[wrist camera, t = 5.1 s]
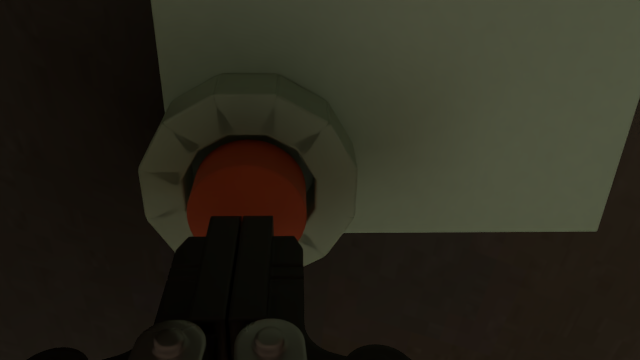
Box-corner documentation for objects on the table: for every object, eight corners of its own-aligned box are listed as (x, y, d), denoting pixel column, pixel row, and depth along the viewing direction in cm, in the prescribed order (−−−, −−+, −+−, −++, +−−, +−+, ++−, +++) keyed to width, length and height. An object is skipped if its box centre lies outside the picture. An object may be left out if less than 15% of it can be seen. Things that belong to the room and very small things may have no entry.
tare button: (199, 233, 17) (191, 265, 16) (189, 138, 16) (180, 165, 15) (305, 232, 18) (306, 264, 16) (306, 138, 16) (307, 165, 15)
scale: (175, 216, 21) (154, 279, 18) (122, -200, 15) (76, -211, 12) (570, 214, 21) (615, 275, 18) (684, -186, 15) (781, -193, 12)
